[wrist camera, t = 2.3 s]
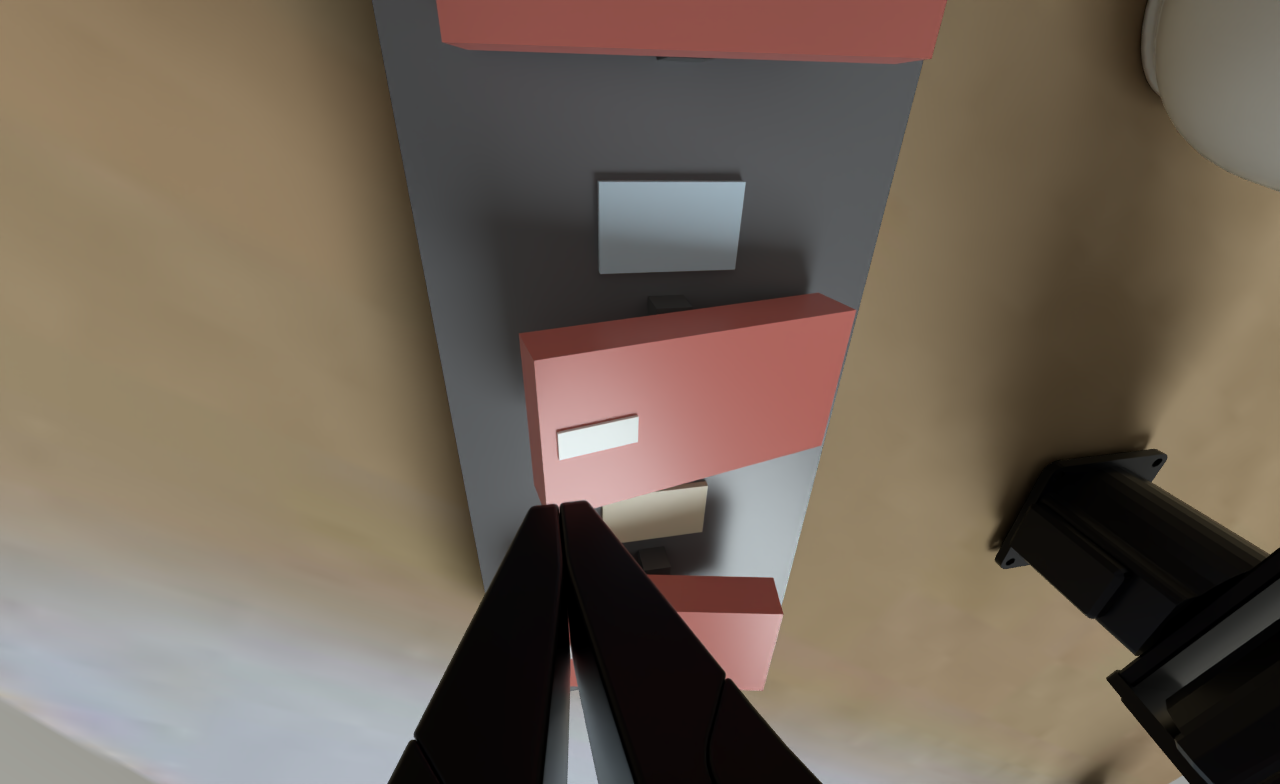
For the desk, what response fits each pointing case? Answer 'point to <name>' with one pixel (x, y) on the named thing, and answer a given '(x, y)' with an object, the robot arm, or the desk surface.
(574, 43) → the rocker
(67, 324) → the desk surface
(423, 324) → the desk surface
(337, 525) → the desk surface
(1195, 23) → the lidded jar
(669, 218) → the power strip
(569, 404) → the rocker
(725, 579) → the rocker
